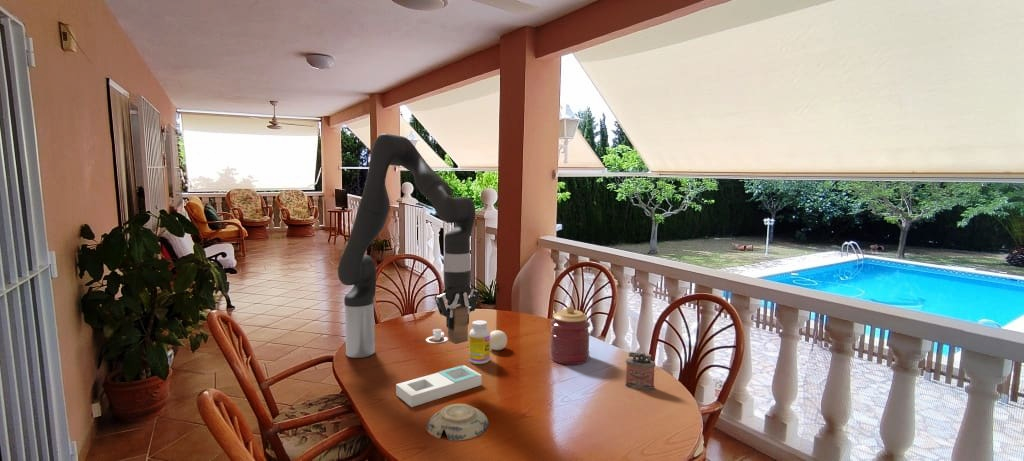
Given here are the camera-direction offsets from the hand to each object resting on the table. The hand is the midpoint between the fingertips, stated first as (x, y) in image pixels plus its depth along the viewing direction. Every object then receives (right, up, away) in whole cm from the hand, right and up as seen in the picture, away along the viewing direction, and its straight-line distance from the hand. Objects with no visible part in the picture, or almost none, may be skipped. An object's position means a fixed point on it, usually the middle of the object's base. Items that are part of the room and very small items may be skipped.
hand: (457, 327), depth 135 cm
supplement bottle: (+5, -15, +20) cm, 25 cm away
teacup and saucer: (-9, -13, +41) cm, 44 cm away
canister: (+34, -15, +23) cm, 44 cm away
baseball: (+10, -14, +30) cm, 35 cm away
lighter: (+52, -17, +1) cm, 55 cm away
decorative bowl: (+2, -20, -20) cm, 28 cm away
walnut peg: (0, -4, 0) cm, 4 cm away
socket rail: (-5, -17, -2) cm, 18 cm away
